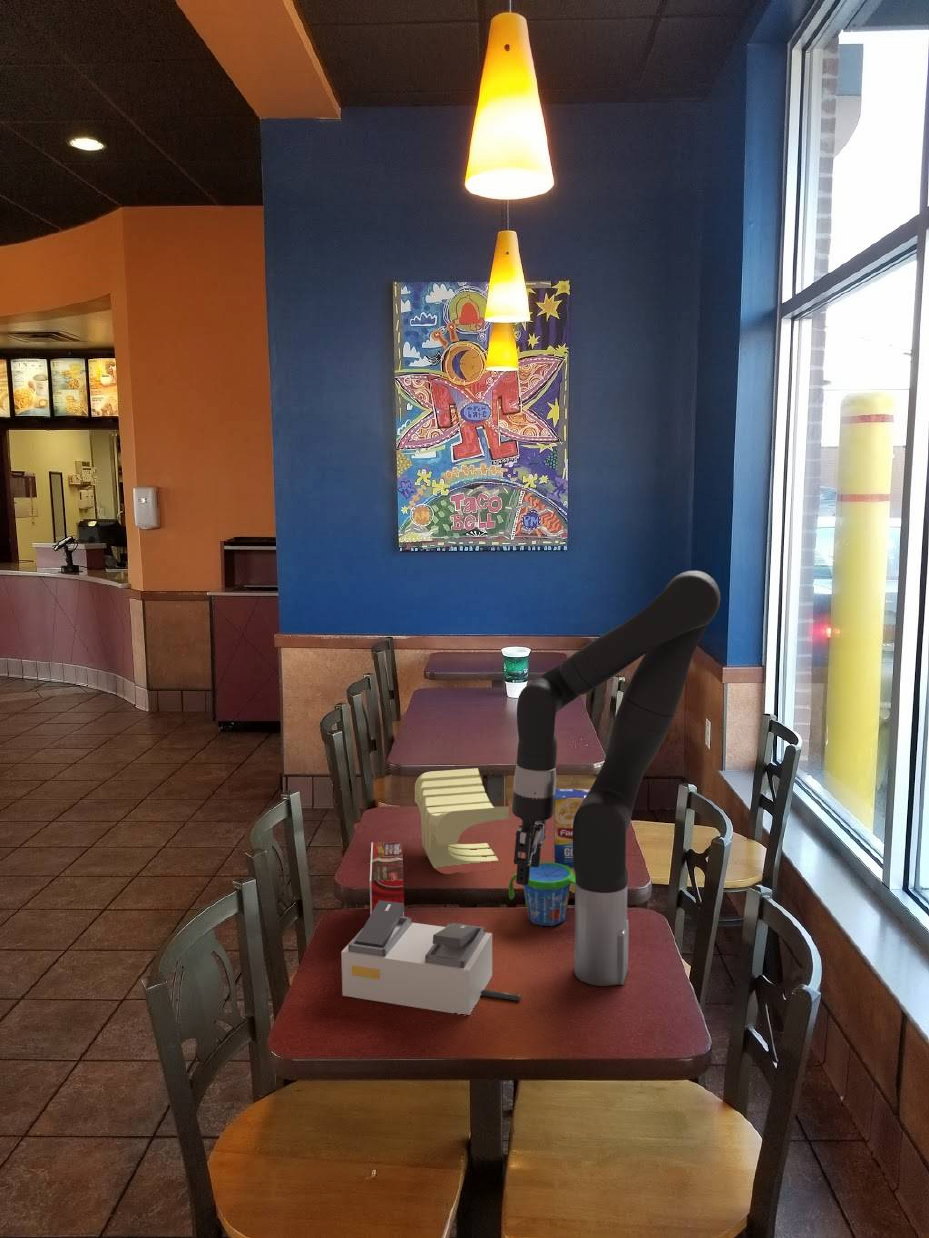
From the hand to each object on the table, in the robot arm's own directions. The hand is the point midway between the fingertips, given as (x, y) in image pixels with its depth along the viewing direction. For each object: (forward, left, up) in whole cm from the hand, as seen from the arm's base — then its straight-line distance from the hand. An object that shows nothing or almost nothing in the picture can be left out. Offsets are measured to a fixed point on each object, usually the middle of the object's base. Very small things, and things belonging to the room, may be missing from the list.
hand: (528, 874), depth 174 cm
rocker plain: (+10, +13, -7) cm, 18 cm away
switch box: (+13, +13, -17) cm, 25 cm away
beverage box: (-3, -34, -17) cm, 38 cm away
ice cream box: (+31, -9, -18) cm, 37 cm away
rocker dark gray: (+24, +13, -7) cm, 28 cm away
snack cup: (+1, -19, -17) cm, 26 cm away
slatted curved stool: (+27, -43, -17) cm, 54 cm away
